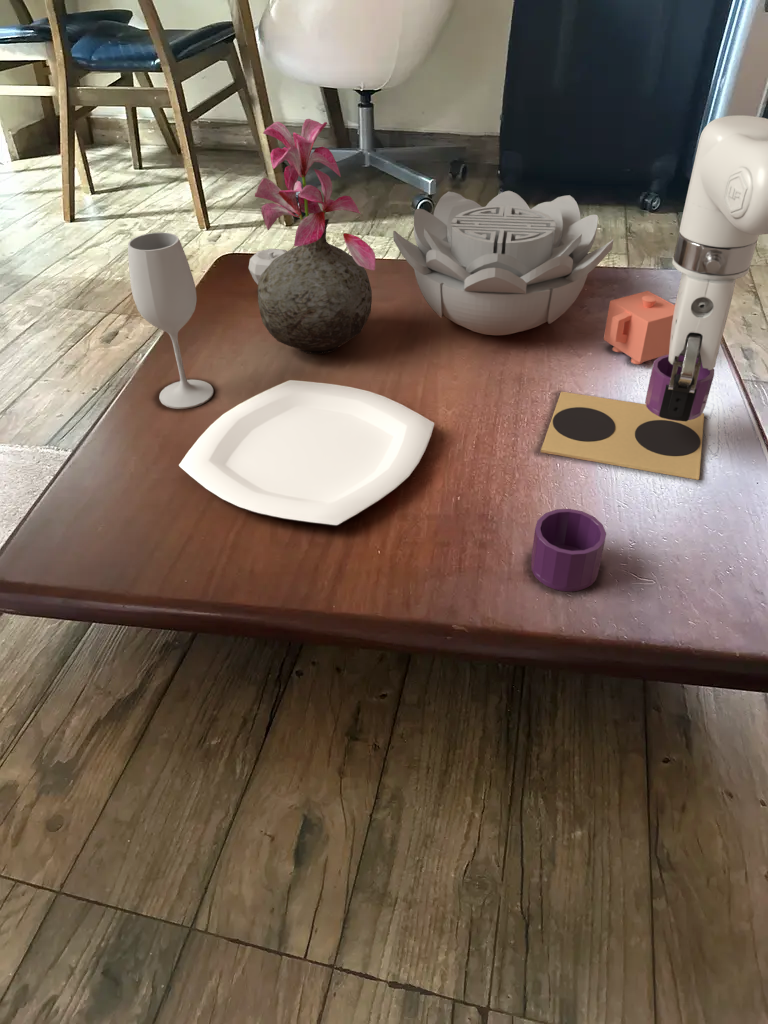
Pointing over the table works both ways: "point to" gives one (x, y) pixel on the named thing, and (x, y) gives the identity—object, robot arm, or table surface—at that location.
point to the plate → (309, 451)
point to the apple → (263, 261)
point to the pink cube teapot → (640, 326)
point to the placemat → (624, 436)
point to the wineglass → (166, 304)
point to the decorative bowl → (502, 260)
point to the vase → (312, 255)
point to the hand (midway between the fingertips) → (675, 400)
